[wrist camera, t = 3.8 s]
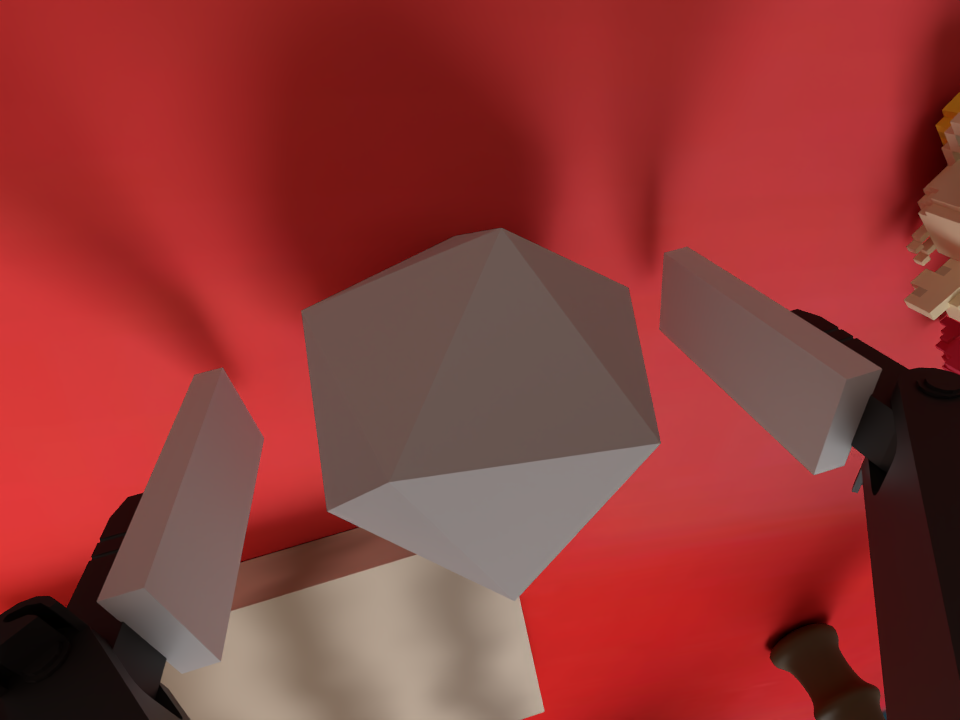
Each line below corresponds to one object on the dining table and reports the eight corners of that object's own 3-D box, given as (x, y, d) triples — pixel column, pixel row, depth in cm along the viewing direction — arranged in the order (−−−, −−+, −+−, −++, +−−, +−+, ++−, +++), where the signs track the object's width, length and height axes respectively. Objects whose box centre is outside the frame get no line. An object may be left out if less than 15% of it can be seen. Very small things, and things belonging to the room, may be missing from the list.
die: (477, 447, 20) (730, 537, 13) (261, 540, 14) (516, 790, 7) (466, 238, 18) (754, 218, 11) (212, 245, 12) (494, 214, 5)
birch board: (491, 488, 20) (503, 527, 19) (533, 675, 31) (544, 711, 29) (35, 623, 19) (6, 679, 17) (243, 773, 29) (237, 816, 28)
